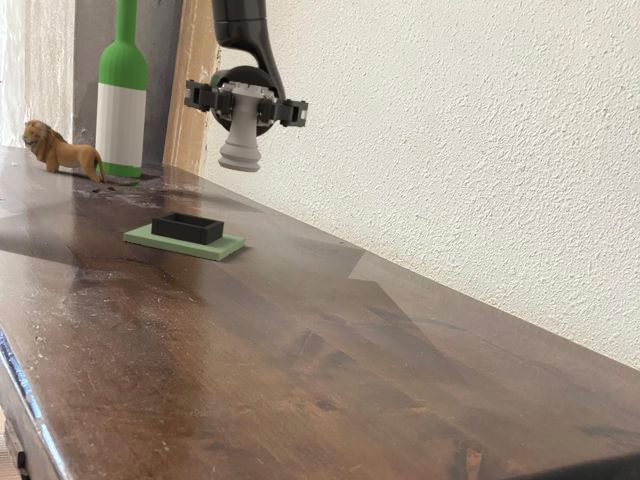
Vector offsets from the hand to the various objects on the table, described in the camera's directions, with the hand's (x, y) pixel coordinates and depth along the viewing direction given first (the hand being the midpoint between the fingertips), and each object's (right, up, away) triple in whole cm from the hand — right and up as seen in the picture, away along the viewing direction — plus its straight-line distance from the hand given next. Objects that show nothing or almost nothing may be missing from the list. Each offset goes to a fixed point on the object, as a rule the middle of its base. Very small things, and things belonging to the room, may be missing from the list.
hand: (246, 107), depth 72 cm
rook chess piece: (-1, -4, +5) cm, 7 cm away
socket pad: (-10, -7, +23) cm, 26 cm away
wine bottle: (-28, +12, +58) cm, 65 cm away
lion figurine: (-33, +7, +46) cm, 58 cm away
